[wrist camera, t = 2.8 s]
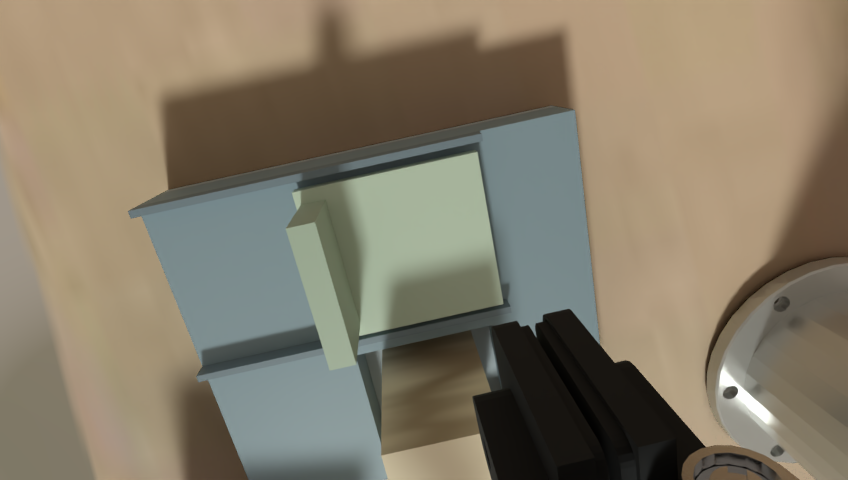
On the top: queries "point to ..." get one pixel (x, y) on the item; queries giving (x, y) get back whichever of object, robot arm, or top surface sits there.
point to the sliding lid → (393, 250)
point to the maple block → (433, 410)
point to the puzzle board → (362, 383)
